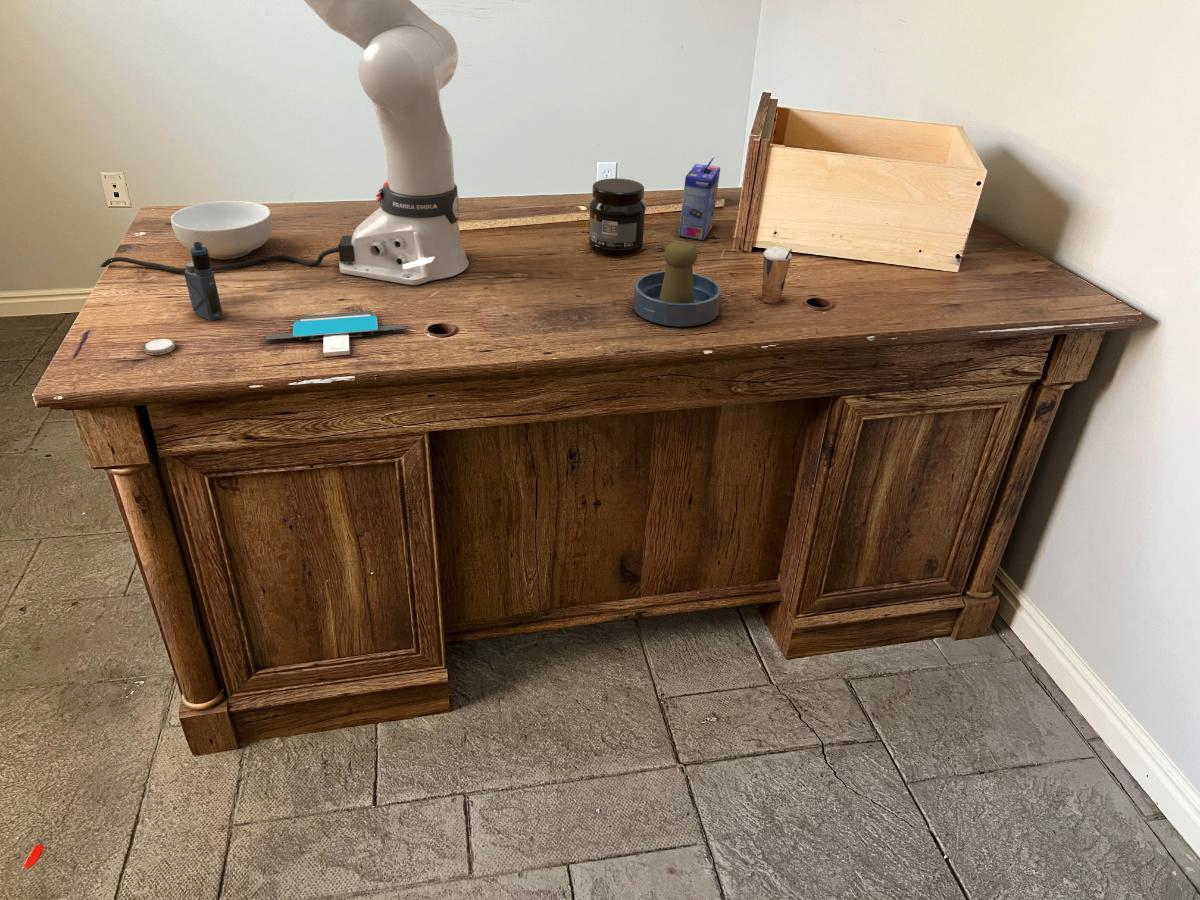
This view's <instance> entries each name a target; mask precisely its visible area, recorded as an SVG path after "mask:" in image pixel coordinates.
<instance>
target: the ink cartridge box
mask: <svg viewBox="0 0 1200 900" xmlns="http://www.w3.org/2000/svg"><path fill="white" fill-rule="evenodd" d="M714 159H715V157H712V158H711V160H710V161H709V162H708V163H707V164H701V163H695V164H694V165H693V167H692V168H691V169H690V170H689V171H688V172H687V174H686V175H685V178H684V184H683V185H684V186H683V194H682V195H683V196H682V203H681V213H680V221H679V230H678V237H682V238H688V239H694V240H699V241H704V240H705V238H706V237H707V235H708V234H709V233H710V231H711V229H712V228H713V223H714V217H715V210H716V204H717V203H716V202H717V196H718V189H719V182H720V175H721V174H720V173H721V167H719V166H714V165H711V164H712V162H713V161H714Z"/></svg>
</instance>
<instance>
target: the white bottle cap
mask: <svg viewBox="0 0 1200 900" xmlns="http://www.w3.org/2000/svg"><path fill="white" fill-rule="evenodd" d="M175 349H176V345H175V341H174V340H173V339H171V338H157V339H152V340H150V341H148V342H146V343H145V344H144V345H143V350H144V352H145V354H146V355H147V354H148V355H152V356H159V355H165V354H168V353H170V352H172V351H173V350H175Z"/></svg>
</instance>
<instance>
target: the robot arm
mask: <svg viewBox="0 0 1200 900" xmlns="http://www.w3.org/2000/svg"><path fill="white" fill-rule="evenodd" d="M303 1H304V2H305V3H306V4H307V5H308V6H309V8H311V10H312V11H313V12H314V13H316V15H317V16H318V17H319V18H320V19H321V20H322V21H323V22H324V23H325V25H326V26H328V27H329V28H330V29H331V30H332V31H334V32H336V33H338V34H340V35H341V36H344V37H346V38H347V39H348V40H350V41H352V42H353V43H354V44H356V45H357V46H358V47H360V48H361V49H362V50H364V51H363V53H362V54H361V56H360V59H359V62H358V78H359V82H360V85H361V88H362V90H363V91H364V94H366V96H367V97H368V98H369V99H370V100H371V104H372V107H373V110H374V113H375V116H376V120H377V123H378V125H379V129H380V133H381V138H382V142H383V148H384V156H385V157H384V158H385V167H386V172H387V173H386V174H387V180H386V181H385V182H384V183H383V184H382V187H381V188H380V189H379V190H378V193H376V194H375V197H376V198H375V199H376V200H375V202H376V203H378V202H379V204H380V207H378V208H377V209H376V210H375V211H374V212H373V213H371V214H370V215H369V216H367V217H366V218H365V219H364V220H363V221H362V222H360V223H359V224H358V225H357V226H356V227H355V229H354V231H353V233H352V235H342V236H341V239H340V240H339V242H338V244H337V247H333V248H330V249H327V250H325V251H323V252H321V253H320V254H319V255H318V257H317V259H316V260H314V261H305V260H302V259H299V258H296V257H295V256H294V257H293V256H290V255H285V254H274V255H265V256H260V257H256V258H252V259H249V260H244V261H239V262H234V263H227V264H221V265H220V264H219V265H213V266H211V267H212V272H217V271H218V272H219V271H225V270H230V269H231V270H232V269H237V268H243V267H247V266H250V265H255V264H259V263H263V262H268V261H276V260H278V261H279V260H281V261H288V262H293V263H296V264H299V265H303V266H308V267H315V266H318V265H320V264H321V263H322V261H323V259H324V258H325V257H327V256H329V255H331V254H335V253H338V256H339V262H338V265H339V266H338V267H339V271H340V273H341V274H344V275H351V276H356V277H362V278H366V279H367V278H368V279H372V280H373V279H374V280H379V281H384V282H391V283H397V284H402V285H408V286H419V285H422V284H424V283H427V282H430V281H435V280H442V279H443V280H444V279H447V278H451V277H454V276H456V275H459V274H461V273H462V272H464V271H466V270H467V269H468V267H469V265H470V264H469V260H468V258H467V254H466V251H465V248H464V243H463V240H462V236H461V235H462V234H461V229H460V224H459V218H460V197H459V193H458V186H457V184H456V183H455V170H454V155H453V154H454V153H453V140H452V137H451V135H450V133H449V131H448V130H447V129H448V128H447V126H446V123H445V118H444V115H443V111H442V106H441V98H440V95H441V94H440V93H441V90H442V89H444V88H445V87H446V86H448V84H450V82H451V80H453V77H454V75H455V72H456V70H457V66H458V62H459V50H458V45H457V43H456V41H455V38H454V36H453V35H452V34H451V32H450V31H448V29H447V28H445V27H444V26H443V25H441V24H440V23H438V22H436V21H434V20H433V19H432V18H431V17H430V16H428V15H427V14H426V13H425V12H424V11H423V10H422V9H421V8H419V7H418V6H417V5H416V4H415V3H413V1H411V0H303ZM111 260H112V261H111ZM116 262H122V263H129V264H133V265H137V266H141V267H146V268H154V269H160V270H164V271H169V272H173V273H180V274H182V273H183V274H185V270H186V267H175V266H169V265H165V264H161V263H156V262H149V261H143V260H138V259H135V258H130V257H124V256H114V257H110V258H108V259H106V260H104V261H103V262H102V263H101V264H100V268H106V267H108V266H109V265H110V264H114V263H116Z"/></svg>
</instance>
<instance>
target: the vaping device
mask: <svg viewBox="0 0 1200 900" xmlns="http://www.w3.org/2000/svg"><path fill="white" fill-rule="evenodd" d="M193 244H194V248H192V249H190V250H189V252H190V255H191V259H192V261H189V262H186V263H185V264H184V268H186V270H185V273H184V279H185V283H186V287H187V291H188V294H189V299H190V303H191V306H192V311H193V312H194V314H195V316H197V317H200V318H202V319H205V320H208V321H211V322H212V321H216V320H220V319H221V318H223V317H224V313H223V309H222V305H221V301H220V295H219V292H218V288H217V283H216V279H215V278H216V277H215V273H214V271H212V267H213V266H212V264H211V263H212V262H211V259H210V257H209V254H207V253H208V250H207V248H206V247H202V244H201V242H195V243H193Z"/></svg>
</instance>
